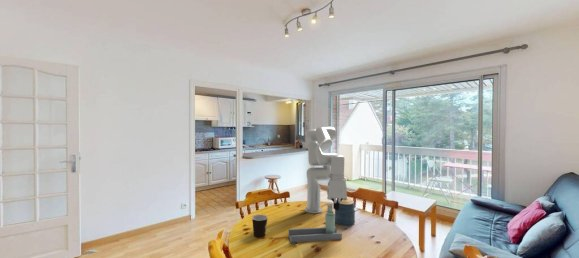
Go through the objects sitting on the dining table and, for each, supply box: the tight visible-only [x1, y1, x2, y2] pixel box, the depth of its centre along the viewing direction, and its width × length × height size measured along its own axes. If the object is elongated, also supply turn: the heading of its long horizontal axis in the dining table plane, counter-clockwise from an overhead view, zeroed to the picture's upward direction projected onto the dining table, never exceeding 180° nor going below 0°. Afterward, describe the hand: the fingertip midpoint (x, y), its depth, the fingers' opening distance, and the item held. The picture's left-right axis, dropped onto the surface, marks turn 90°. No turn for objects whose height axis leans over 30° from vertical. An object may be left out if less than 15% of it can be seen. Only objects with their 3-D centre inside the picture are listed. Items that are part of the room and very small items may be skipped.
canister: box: [334, 196, 356, 227], centre depth 153 cm, size 13×13×18 cm
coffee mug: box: [251, 214, 268, 239], centre depth 135 cm, size 12×9×10 cm
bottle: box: [324, 202, 336, 234], centre depth 132 cm, size 5×5×18 cm
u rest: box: [288, 226, 343, 245], centre depth 131 cm, size 9×28×4 cm, turn 100°
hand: (336, 209), depth 133 cm, fingers closed
